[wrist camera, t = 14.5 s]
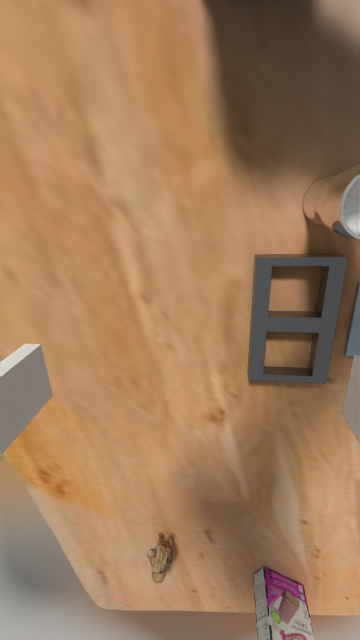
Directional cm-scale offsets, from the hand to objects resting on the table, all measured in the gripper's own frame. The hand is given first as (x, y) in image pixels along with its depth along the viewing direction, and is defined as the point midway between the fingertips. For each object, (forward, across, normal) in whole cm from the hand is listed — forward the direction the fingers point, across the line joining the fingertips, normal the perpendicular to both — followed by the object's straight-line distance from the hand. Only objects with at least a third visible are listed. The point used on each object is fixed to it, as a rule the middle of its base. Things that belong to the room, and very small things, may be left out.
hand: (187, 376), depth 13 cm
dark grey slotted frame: (+35, +12, -11) cm, 38 cm away
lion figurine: (+35, -11, -69) cm, 78 cm away
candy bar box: (+35, +16, -78) cm, 87 cm away
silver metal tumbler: (+35, +15, +6) cm, 38 cm away
